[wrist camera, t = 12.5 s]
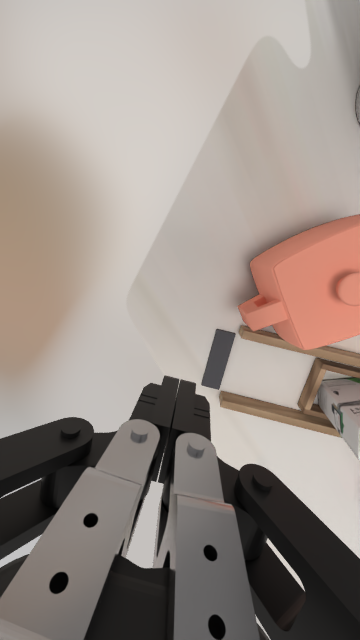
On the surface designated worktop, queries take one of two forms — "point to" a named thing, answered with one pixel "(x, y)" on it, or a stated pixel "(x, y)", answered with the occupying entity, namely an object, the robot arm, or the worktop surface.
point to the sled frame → (315, 381)
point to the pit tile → (218, 359)
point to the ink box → (343, 408)
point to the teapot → (309, 286)
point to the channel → (282, 412)
